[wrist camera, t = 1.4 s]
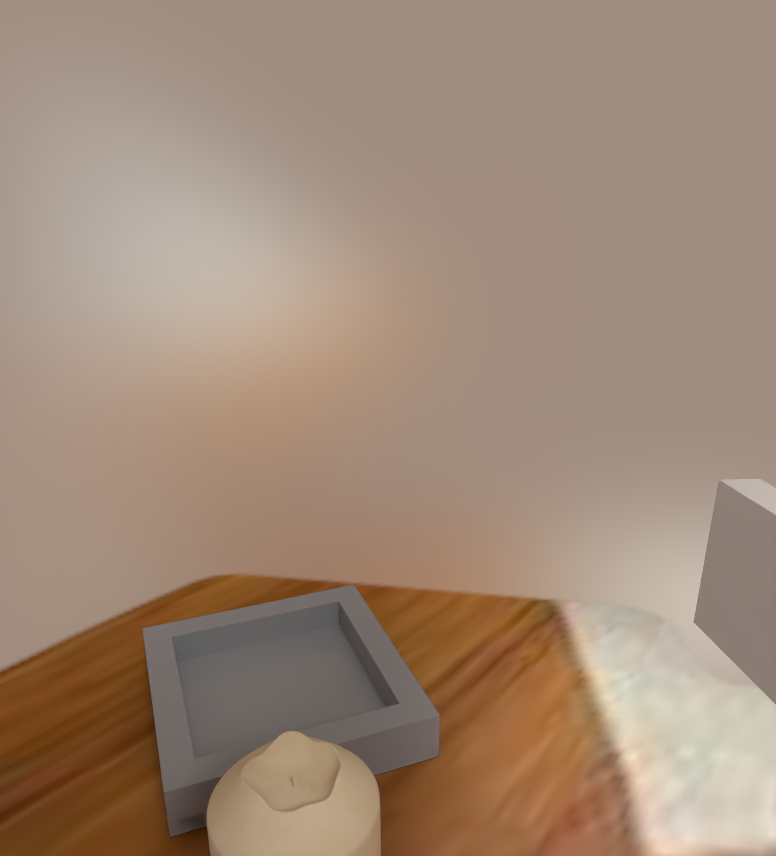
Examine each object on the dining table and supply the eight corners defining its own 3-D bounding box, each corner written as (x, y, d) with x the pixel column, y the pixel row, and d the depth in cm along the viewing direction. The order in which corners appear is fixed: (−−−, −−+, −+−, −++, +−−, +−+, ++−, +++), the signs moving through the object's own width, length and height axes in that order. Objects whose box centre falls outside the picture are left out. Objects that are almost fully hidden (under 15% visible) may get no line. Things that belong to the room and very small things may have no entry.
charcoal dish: (354, 618, 48) (354, 584, 48) (438, 756, 37) (439, 714, 36) (147, 664, 44) (142, 628, 43) (169, 837, 33) (163, 792, 32)
